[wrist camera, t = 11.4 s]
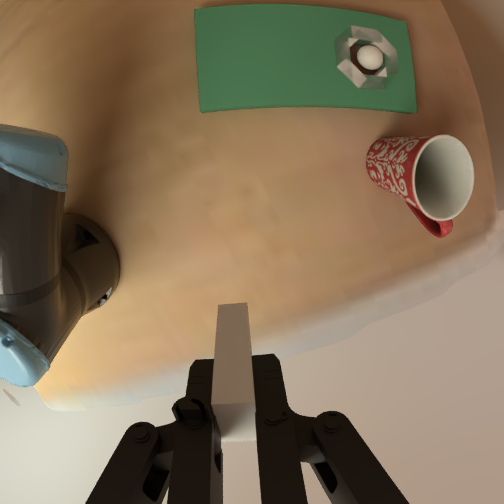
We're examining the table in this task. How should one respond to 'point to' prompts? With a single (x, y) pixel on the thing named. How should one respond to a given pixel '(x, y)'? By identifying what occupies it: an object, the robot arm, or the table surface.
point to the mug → (425, 176)
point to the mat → (299, 58)
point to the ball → (370, 57)
